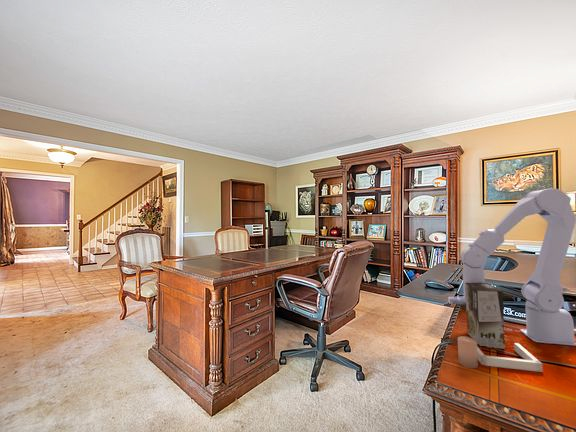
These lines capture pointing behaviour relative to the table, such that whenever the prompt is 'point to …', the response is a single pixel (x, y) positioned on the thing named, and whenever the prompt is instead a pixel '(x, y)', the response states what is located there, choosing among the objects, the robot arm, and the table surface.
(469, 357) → the beige block
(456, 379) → the table surface
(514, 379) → the table surface
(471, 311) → the coffee box
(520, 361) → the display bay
